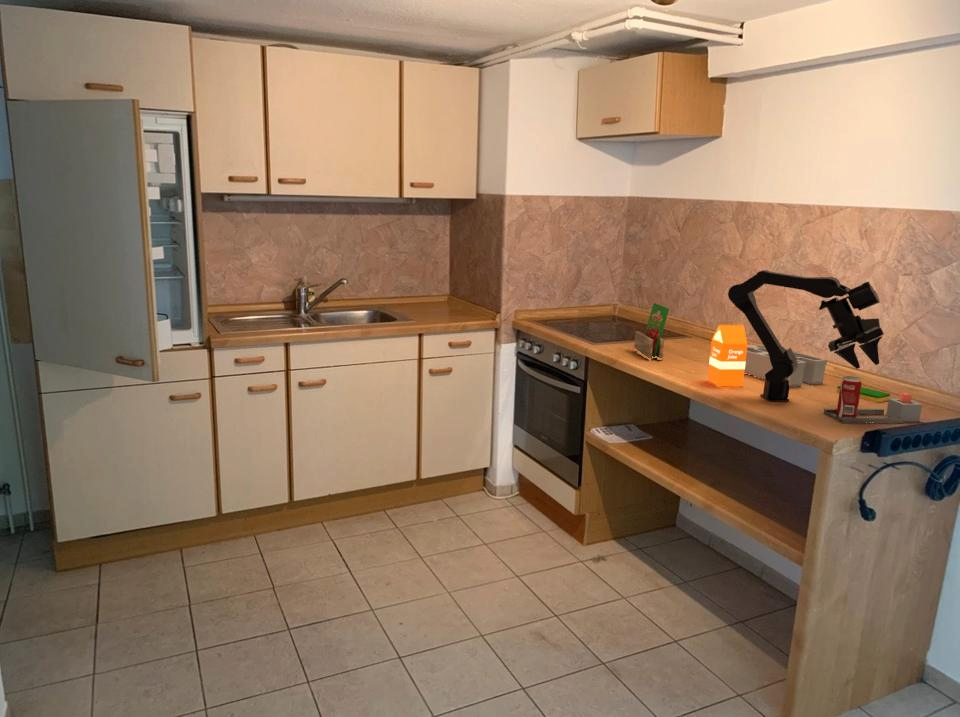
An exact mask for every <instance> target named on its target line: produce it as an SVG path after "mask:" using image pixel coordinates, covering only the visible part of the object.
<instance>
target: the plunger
mask: <svg viewBox="0 0 960 717" xmlns="http://www.w3.org/2000/svg"><path fill="white" fill-rule="evenodd" d="M912 398H913V394H912V393H909V392H901V393H900V398H899V399H900V402H902V403H911V400H912Z"/></svg>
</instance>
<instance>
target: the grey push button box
mask: <svg viewBox="0 0 960 717" xmlns="http://www.w3.org/2000/svg"><path fill="white" fill-rule="evenodd" d="M886 407H887V409H886V416H887V415H888V416H887V417H889V416H890V417H901V418H903V422H920V421H921V413H922V408H923V404H921V403H920V402H916V401H915V400H912V399H911V403H902V402H900V398H890V399H889V400H888V402H887V406H886Z"/></svg>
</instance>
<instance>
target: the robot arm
mask: <svg viewBox="0 0 960 717" xmlns="http://www.w3.org/2000/svg"><path fill="white" fill-rule="evenodd" d="M764 285H769V286H770V285H771V286H777V287H782V288H783V287H784V288H789V289H795V290H801V291H805V292H807V293H810V294H812V295H814V296H818V297H820V298H824V299H828V300H824V299H823V300H821V302H820V306H819V307H818V310H819V311H821V310H823V309H824V310H825V309H827V311H828V313H829V315H830V317H831V319H832V321H833V323H834V324H833V325H832V328H833V329H834V330H835V329H837V331H838V334H839V337H838V338H836V339H833V340H831V341H829V343H828V345H827V347H828V348H829V349H828V350H829V351H830V352H833V353H834V354H836V355H837V356H839V357H840V358H842V359H843V360H845V361H846V362H847V363H848V364H850V365H851V366H852V367H854V368H855V369H860V368H861V365H860V362H859V360H858V357H857V355H856V352H855V347H856V343H858V344H859V345H858V347H859V348H860V349H861V350H862V352H864V354H865V355H866V357H868V359H869V360H870V361H871V362H872V363H873V364H874V365H875V366H877V365H879V364H880V359H879V358H880V355H879V343H880V341H881V339H883V335H884V334H885V333H884V331H883V329H882V327H881V326H880V325H881V324H880V318H862V317H861V316H860V315H859V314H858V315H855V314H854V310H858V311H863V310H865V309H867V308H870V307H872V306H874V305H877V304H879V303H881V301H880V297H879V295H878V293H877V291H876V290H875V289H874V287H873V286H872V284H871V283H870V281H866V282H864V283H862V284H860V285H859V286H856V287H853V288H850V287H848V286H846V285H844V284H841V281H840V280H839V279H838V278H837V277H833V276H814V277H813V276H812V277H811V276H801V275H794V274H789V273H781V272H776V271H770V270H767V269H764V270H759V271H758V272H757V273H756V274H754V275H753V276H751V277H750V278H749V279H746V280H745V281H744V282H742V283H741V282H740V283H737V284H734V285H731V287H730V288H729V290H728V293H727V297H728V299H729V300H730V301H731V303H732V304H734V306H735V307H736V308H737V309H738V310H739V311H741V312H742V313H743V314H744V316H745V317H746V319H747V321H748V322H749V324H750V325H751V327H752V328H753V330H754V332H755V334H756V335H757V337H758V339H759V340H760V342H761V343H762V346H764V347H765V348H766V350H767V351H768V354H769V358H770V362H771V365H772V369H771V370H770V371H768V372H767V373H766V374H765V380H764V384H763V385H764V386H763V392H762V393H761V394H760V395H759V396H760V397H762V398H764V400H767V401H769V402H790V399H789V394H790V393H789V392H790V389H791V388H790V385H789V380H787V378H788V377H789V376H790V375H792V374H793V373H794V372H795V371H796V369H797V366H798V363H797V361H796V360H797V359H798V358H796V357H795V356H794V354H793V352H794V351H793V349H792V348H791V347H789V348H788V349H786V348H785V347H784V346H782V344H781V343H780V341H779V340H778V337H777V336H776V335H775V333H774V332H773V330H772V328H771V327H770V325H769V323H768V322H767V320H766V318H765V317H764V316H763V314H762V312H761V311H760V308H759V307H758V304H757V300H756V297H755V294H754V292H756V291H757V290H759V288H761V287H762V286H764ZM846 295H847V296H846ZM844 296H845V297H844ZM833 297H834V298H833ZM839 297H840V298H841V297H843V298H841V299H839ZM830 298H831V299H830ZM852 308H853V309H852ZM792 351H793V352H792Z"/></svg>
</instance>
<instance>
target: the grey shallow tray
mask: <svg viewBox="0 0 960 717" xmlns="http://www.w3.org/2000/svg"><path fill="white" fill-rule="evenodd" d="M836 413H837V408H823V414H824V415H826V416H827V415H828V416H827V417H829V416H830V418H831V417H832V418H831V419H833V418H834V419H833V420H835V419H836V420H835V421H837V420H838V421H837V422H840V423H841V422H842V423H841V424H903V423H904V421H903V418H901V417H889V416H857V417H839V416H837V415H835V414H836ZM857 414H885V409H884V408H858V410H857ZM866 422H867V423H866ZM870 422H871V423H870ZM872 422H874V423H872ZM877 422H878V423H877ZM881 422H882V423H881Z"/></svg>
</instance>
